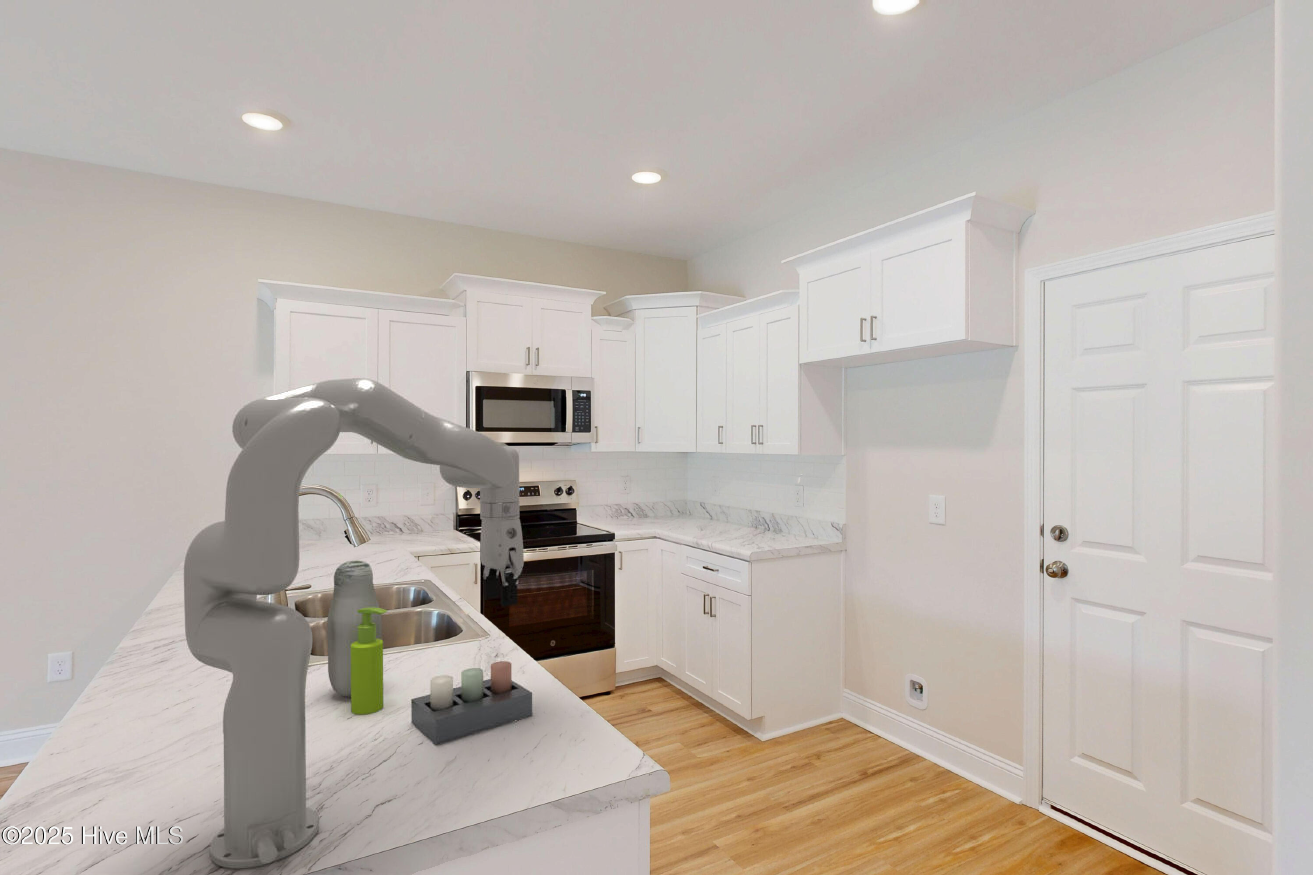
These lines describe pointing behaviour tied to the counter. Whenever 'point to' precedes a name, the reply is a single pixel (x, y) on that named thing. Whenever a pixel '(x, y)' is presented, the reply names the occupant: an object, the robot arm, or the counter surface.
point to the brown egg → (501, 677)
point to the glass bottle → (348, 619)
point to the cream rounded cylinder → (441, 692)
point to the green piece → (472, 684)
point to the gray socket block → (470, 713)
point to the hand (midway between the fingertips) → (500, 600)
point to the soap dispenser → (367, 666)
